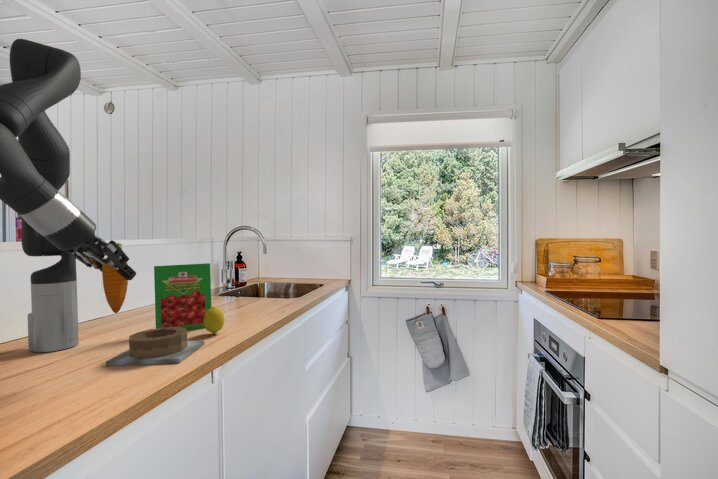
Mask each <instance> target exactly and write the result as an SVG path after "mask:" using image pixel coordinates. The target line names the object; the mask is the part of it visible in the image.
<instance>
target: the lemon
mask: <svg viewBox="0 0 718 479" xmlns="http://www.w3.org/2000/svg"><path fill="white" fill-rule="evenodd" d="M224 324H225V315H224V313H223V311H222V309H220V308H218V307H216V306H211V308H210V309H209V310H208V311H207V312H206V313H205V316H204V327H205V328H204V329H205V330H206V331H207V332H209V333H211V334H213V335H216V334H217V333H218V332H219V331H221V330H222V329H223V326H224Z"/></svg>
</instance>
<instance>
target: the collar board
mask: <svg viewBox="0 0 718 479" xmlns="http://www.w3.org/2000/svg"><path fill="white" fill-rule="evenodd" d="M128 342H129V345H128V346H129V348H128V349H127V350H125V351H123V352H122V353H121V352H120V353H119V354H117V355H116V356H114V357H113V356H112V358H110V359H108V360H106V361H105V366H106V367H109V366H110V367H111V366H112V367H113V366H114V367H115V366H134V365H135V366H136V365H137V366H138V365H140V366H141V365H158V364H159V365H163V364H166V365H167V364H180V363H182V362H183V361H185V360H186V359H187V358H188V357H190V356H191V355H192V354H194V353H195V352H197V351H198V350H200V348H203V346H204V345H205V340H188V330H186V328H180V327H164V328H157V329H156V328H151V329H146V330H142V331H139V332H135V333H133V334H131V335H129V337H128Z"/></svg>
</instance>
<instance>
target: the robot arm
mask: <svg viewBox="0 0 718 479" xmlns="http://www.w3.org/2000/svg"><path fill="white" fill-rule="evenodd" d="M11 43H12V44H11V46H10V48H9V69H10V76H11V77H10V78H11V82H9V83H8V82H7V83H3V84H0V201H1V202H2V203H4V204H5V205H6V206H8V207H9V208H10V209H12V210H13V211H14V212H15V213H16V214H17V215H19V217H21V228H20V229H21V230H20V234H21V235H20V236H21V237H20V238H21V247H22V250H23V251H22V252H24V255H26V256H27V257H55V256H56V257H57V256H59V257H60V259H59V261H58V262H55V263H54V264H51V265H49V266H47V267H45V268H42V269H38V270H35V271H33V272H31V274H30V298H31V301H30V302H31V303H30V304H31V312H29V313H28V314H27V337H28V338H27V340H28V341H27V342H28V343H27V344H28V345H27V346H28V352H34V353H51V352H57V351H62V350H67V349H70V348H73V347H76V346H77V345H79V343H80V342H79V341H80V340H79V339H80V338H79V312H78V311H79V310H78V309H79V307H78V282H77V280H78V278H77V261H79V262H80V263H82V264H84V266H86V267H88V268H93V269H94V270H99V271H100V272H102V265H106V264H107V265H109V266H110V267H112V268H113V269H115V270H116V271H117V272H118V273H119V274H121V275H122V276H123V277H124V278H125V279H126V280H128V281H132V280H133V279H134V278H135V277H136V276H137V272H136V271H135V270H134V269H133V268H132V266H130V265H127V264H128V262H129V261H130V257H128V255H127V254H126V253H125V252H124V250H123V248H122V249H121V248H120V247H119V246H118V243H117V242H116V241H114V240H112V239H111V240H110V241H108V242H106V240H104V239H103V238H101V237H99V236H97V235H96V234H95V233H96V230H97V224H96V223H95V222H94V221H93V220H92V219H91V218H90V217H88V215H87V214H85V213H84V212H83V211H82V210H81V209H80V208H79V207H78V206H77V205H76V204H75V203H74V202H73V201H72V200H71V199H70V198H68V197H67V196H66V195H64V194H62V193H61V192H60V190H61V189H62V187H64V185H65V183H66V182H67V181H68V179H69V177H70V174H71V165H70V164H71V159H70V158H71V151H70V148H69V145H68V144H67V142H66V140H65V139H64V137H63V136H62V134H61V132H60V131H59V130H58V129H57V128H56V126H55V124H54V123H53V122H52V120H51V119H50V118H49V116H48V114H47V113H46V111H47V110H48V109H50V108H52V107H54V106H55V105H56V104H59V103H60V102H61V101H64V100H65V99H66V98H68V97H70V96H72V95H73V94H74V93H75V92H76V91H77V90H78V88H79V86H80V82H81V77H82V73H81V64H80V62H79V60H78V59H77V57H76V56H75V55H74V54H72V53H71V52H69V51H66V50H64V49H61V48H58V47H54V46H50V45H47V44H43V43H40V42H36V41H32V40H29V39H25V38H17V39H14V41H13V42H11ZM110 260H111V261H112V262H113V263H112V262H111V261H110ZM126 263H127V264H126Z"/></svg>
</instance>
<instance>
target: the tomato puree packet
mask: <svg viewBox="0 0 718 479" xmlns="http://www.w3.org/2000/svg"><path fill="white" fill-rule="evenodd" d="M153 274H154V275H153V276H154V277H153V278H154V280H153V281H154V309H155V329H157V328H164V327H180V328H186V330H187V331H190V330H199V329H206V328H205V327H204V316H205V313H206V312H207V311H208V310H209V309H210V308H212V283H211V282H212V280H211V279H212V278H211V263H210V262H206V263H191V264H190V263H189V264H171V265H170V264H169V265H168V264H167V265H154V266H153Z"/></svg>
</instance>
